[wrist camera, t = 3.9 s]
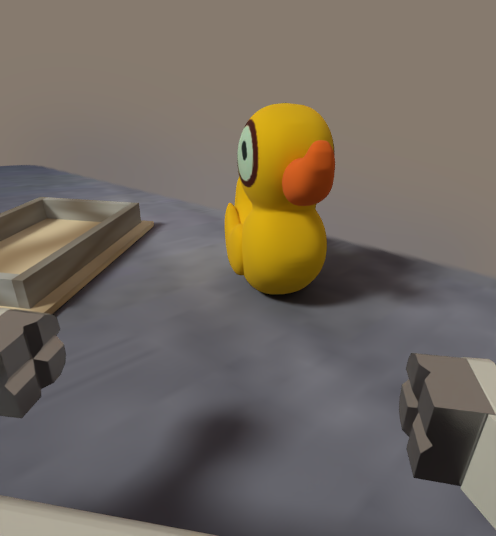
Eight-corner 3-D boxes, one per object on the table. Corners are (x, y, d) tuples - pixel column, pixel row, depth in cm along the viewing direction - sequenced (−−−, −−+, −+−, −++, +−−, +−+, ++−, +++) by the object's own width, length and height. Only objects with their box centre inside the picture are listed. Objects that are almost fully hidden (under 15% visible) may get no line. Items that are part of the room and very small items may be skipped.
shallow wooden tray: (153, 226, 32) (151, 202, 31) (42, 321, 19) (33, 286, 18) (39, 218, 34) (33, 195, 33) (-135, 301, 21) (-151, 268, 20)
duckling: (361, 336, 19) (399, 110, 14) (251, 349, 18) (255, 110, 13) (289, 246, 29) (299, 97, 24) (216, 251, 28) (213, 97, 23)
